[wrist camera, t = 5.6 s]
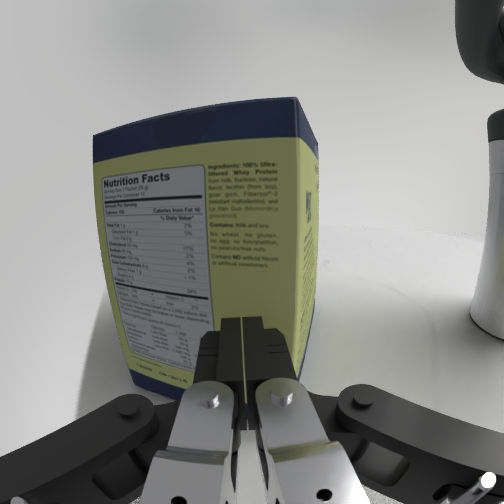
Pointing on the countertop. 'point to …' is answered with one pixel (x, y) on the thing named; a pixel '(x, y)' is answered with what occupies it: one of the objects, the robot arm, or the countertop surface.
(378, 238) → the countertop surface
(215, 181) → the protein box
